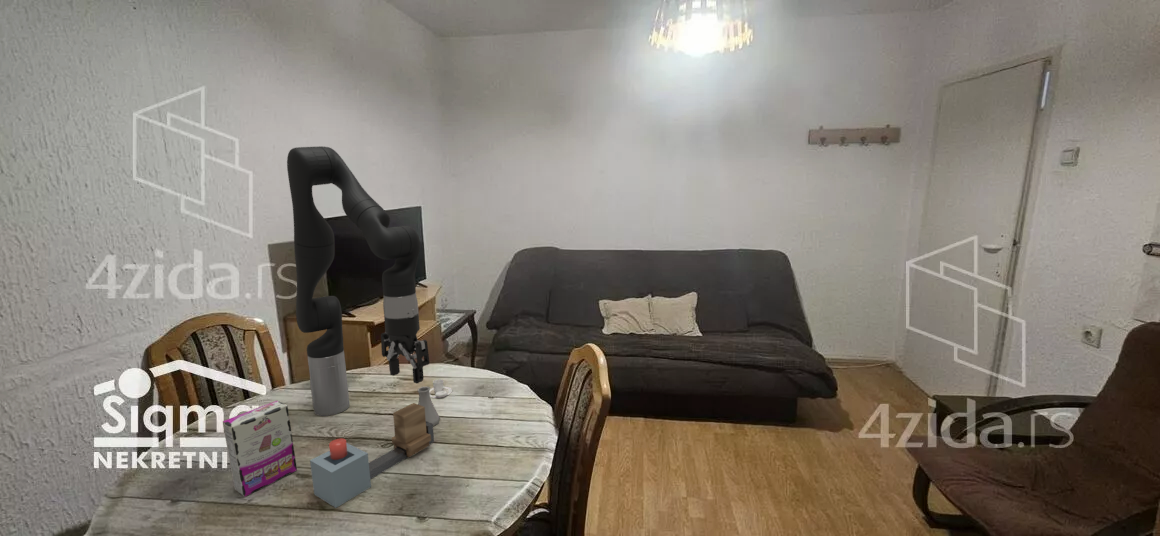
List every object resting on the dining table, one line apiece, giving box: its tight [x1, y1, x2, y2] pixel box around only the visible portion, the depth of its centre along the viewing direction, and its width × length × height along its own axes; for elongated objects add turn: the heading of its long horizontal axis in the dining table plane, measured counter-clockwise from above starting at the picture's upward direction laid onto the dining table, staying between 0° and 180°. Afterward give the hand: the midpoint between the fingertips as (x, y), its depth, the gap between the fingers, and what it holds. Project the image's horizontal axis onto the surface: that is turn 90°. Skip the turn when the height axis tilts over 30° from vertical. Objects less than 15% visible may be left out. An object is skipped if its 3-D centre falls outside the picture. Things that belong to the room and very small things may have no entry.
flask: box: [417, 386, 441, 427], centre depth 130 cm, size 7×7×10 cm
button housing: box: [309, 442, 372, 509], centre depth 102 cm, size 8×8×8 cm
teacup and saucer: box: [429, 378, 453, 399], centre depth 149 cm, size 9×8×4 cm
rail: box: [369, 421, 435, 480], centre depth 114 cm, size 3×20×5 cm, turn 148°
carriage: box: [391, 402, 431, 458], centre depth 116 cm, size 7×6×10 cm
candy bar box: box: [222, 400, 298, 497], centre depth 105 cm, size 11×5×16 cm, turn 148°
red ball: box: [328, 437, 347, 460], centre depth 101 cm, size 3×3×3 cm
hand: (406, 378), depth 114 cm, fingers open, 8 cm apart
